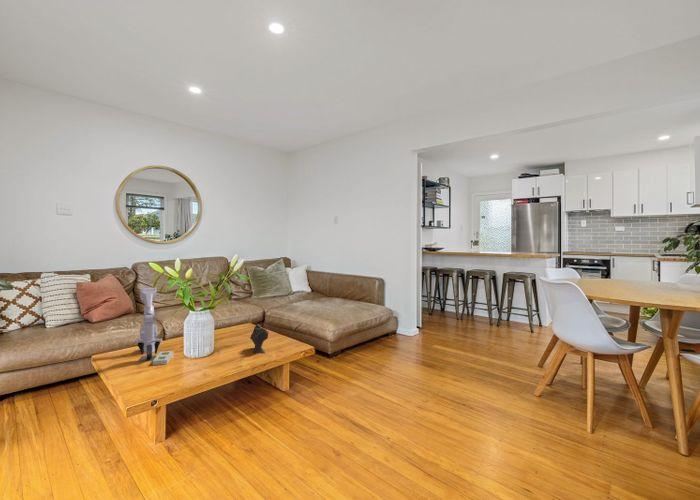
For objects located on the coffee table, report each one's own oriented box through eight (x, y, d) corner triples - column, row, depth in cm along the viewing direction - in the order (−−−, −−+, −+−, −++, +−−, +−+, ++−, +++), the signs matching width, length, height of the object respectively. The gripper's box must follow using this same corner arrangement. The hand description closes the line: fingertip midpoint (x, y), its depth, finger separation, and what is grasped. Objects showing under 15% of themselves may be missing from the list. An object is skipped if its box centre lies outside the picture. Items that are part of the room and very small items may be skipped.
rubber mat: (141, 356, 220) (141, 356, 220) (158, 355, 222) (158, 355, 222) (136, 362, 210) (136, 361, 210) (154, 361, 213) (154, 360, 213)
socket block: (160, 356, 222) (160, 351, 222) (173, 355, 224) (173, 351, 224) (152, 365, 206) (152, 360, 206) (166, 364, 208) (166, 359, 208)
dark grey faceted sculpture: (272, 346, 247) (272, 322, 247) (264, 353, 232) (265, 328, 231) (253, 345, 249) (254, 321, 248) (245, 352, 234) (245, 327, 233)
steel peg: (147, 358, 217) (147, 344, 216) (152, 357, 217) (152, 344, 217) (145, 359, 214) (145, 346, 213) (151, 359, 215) (151, 345, 214)
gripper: (134, 335, 209) (134, 356, 210) (160, 334, 213) (159, 355, 213) (138, 332, 216) (138, 352, 216) (163, 331, 220) (163, 351, 220)
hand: (149, 353), depth 215 cm, fingers open, 7 cm apart
